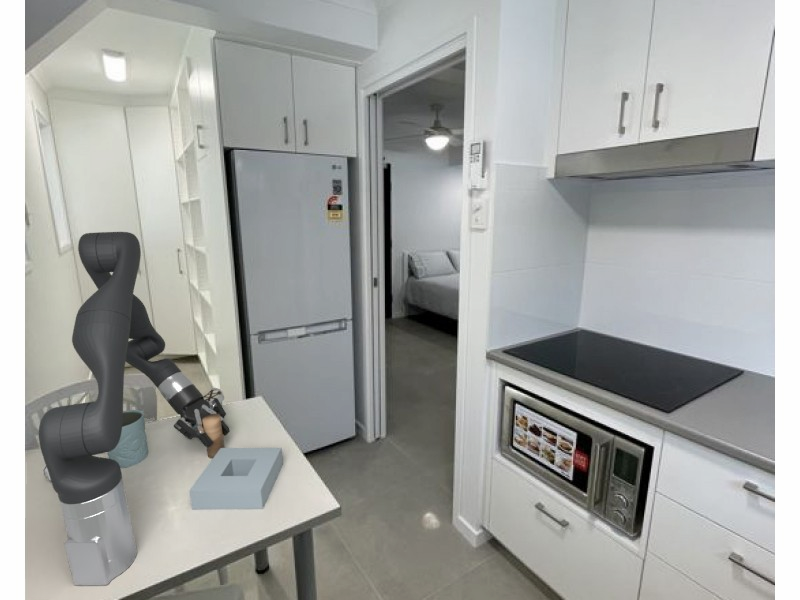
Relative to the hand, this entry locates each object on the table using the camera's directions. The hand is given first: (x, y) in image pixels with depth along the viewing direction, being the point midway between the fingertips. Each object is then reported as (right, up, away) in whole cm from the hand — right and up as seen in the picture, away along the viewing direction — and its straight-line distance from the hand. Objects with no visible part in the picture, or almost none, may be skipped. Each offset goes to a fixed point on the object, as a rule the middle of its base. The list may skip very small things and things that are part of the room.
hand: (219, 439), depth 109 cm
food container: (-9, -1, +16) cm, 19 cm away
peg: (-2, -5, +2) cm, 5 cm away
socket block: (+10, -7, -11) cm, 17 cm away
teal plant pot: (-25, -5, 0) cm, 25 cm away
